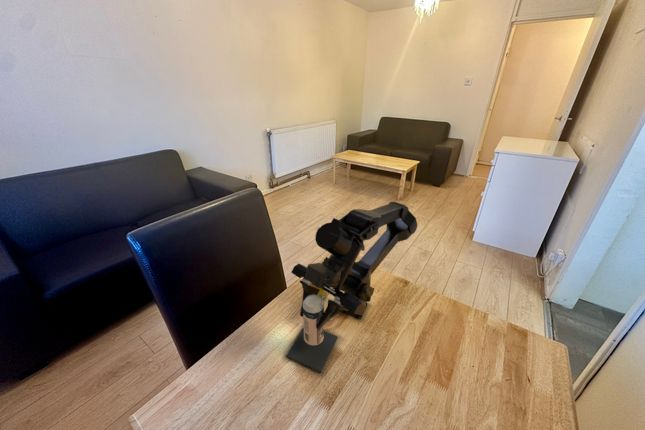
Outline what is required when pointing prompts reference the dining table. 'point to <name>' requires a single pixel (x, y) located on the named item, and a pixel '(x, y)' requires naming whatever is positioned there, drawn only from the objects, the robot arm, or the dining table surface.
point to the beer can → (313, 319)
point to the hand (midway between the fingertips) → (309, 322)
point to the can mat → (312, 351)
